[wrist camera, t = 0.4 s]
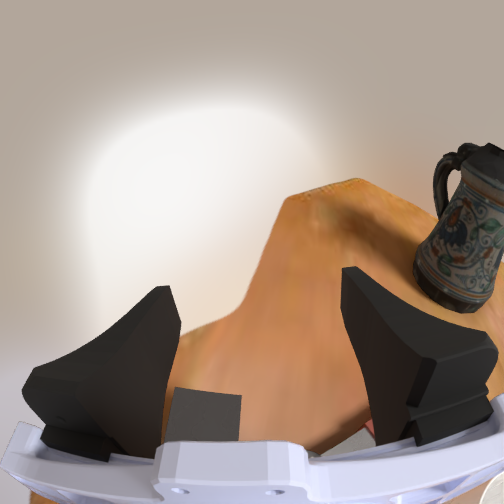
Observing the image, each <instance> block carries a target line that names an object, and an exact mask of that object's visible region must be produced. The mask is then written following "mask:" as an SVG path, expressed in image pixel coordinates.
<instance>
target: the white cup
mask: <svg viewBox="0 0 504 504" xmlns="http://www.w3.org/2000/svg"><path fill="white" fill-rule="evenodd" d="M442 504H504V472H502V473H500V474H499V475H497V476H495V477H493V478H492V479H490V480H488V481H486V482H484V483H482V484H480V485H479V486H477V487H475V488H473V489H471V490H469V491H467V492H465V493H463V494H461V495H459V496H457V497H455V498H452V499H450V500H448V501H446V502H444V503H442Z"/></svg>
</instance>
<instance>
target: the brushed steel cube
mask: <svg viewBox="0 0 504 504" xmlns="http://www.w3.org/2000/svg"><path fill="white" fill-rule="evenodd" d="M241 398H242V395H233V394H223V393H215V392H206V391H199V390H192V389H185V388H178V387H175V390H174V395H173V400H172V404H171V409H170V414H169V419H168V424H167V429H166V434H165V440H164V443H166V442H172V441H208V442H229V441H238V438H239V425H240V411H241Z"/></svg>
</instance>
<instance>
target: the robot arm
mask: <svg viewBox="0 0 504 504" xmlns="http://www.w3.org/2000/svg"><path fill="white" fill-rule="evenodd" d="M340 308H341V312H342V316H343V320H344V324H345V328H346V331H347V333H348V336H349V338H350V341H351V344H352V346H353V349H354V351H355V354H356V357H357V359H358V362H359V365H360V367H361V371H362V374H363V377H364V382H365V386H366V390H367V395H368V400H369V405H370V410H371V416H372V422H373V428H374V435H375V444H376V447H372V448H368V449H363V450H358V451H353V452H347V453H342V454H336V455H329V456H323V457H315V458H308V453H307V452H306V450H305V449H304V448H303V446H301V445H299V444H296V443H292V442H289V441H283V440H259V441H229V442H208V441H172V442H166V443H164V444H162V445H161V429H162V418H163V408H164V400H165V393H166V388H167V383H168V379H169V376H170V372H171V369H172V365H173V361H174V358H175V354H176V351H177V347H178V343H179V337H180V330H181V320H180V317H179V314H178V311H177V308H176V305H175V302H174V298H173V295H172V292H171V289H170V286H157V287H155V288H154V289H153V290H151V291H150V292H149V293H148V294H147V295H146V296H145V297H144V298H143V299H142V300H141V301H140V302H138V303H137V304H136V305H135V306H134V307H133V308H132V309H131V310H130V311H129V312H128V313H127V314H126V315H124V316H123V317H122V318H121V319H120V320H118V321H117V322H116V323H115V324H114V325H113V326H111V327H110V328H109V329H108V330H106V331H105V332H103V333H102V334H101V335H99V336H98V337H97V338H95V339H93V340H92V341H90V342H89V343H87V344H85V345H84V346H82V347H80V348H79V349H77V350H75V351H73V352H71V353H69V354H67V355H65V356H63V357H61V358H59V359H56V360H55V361H52V362H49V363H46V364H43V365H41V366H38V367H35V368H34V369H33V370H32V372H31V374H30V376H29V377H28V379H27V381H26V383H25V385H24V386H23V388H22V395H23V397H24V399H25V401H26V402H27V404H28V405H29V407H30V408H31V409H32V410H33V411H34V412H35V413H36V414H37V415H38V417H40V419H41V420H42V421H43V422H44V423H45V424H46V426H45V428H44V430H42V429H41V428H39V427H37V426H34V425H31V424H28V423H24V422H19V423H18V425H17V427H16V429H15V431H14V433H13V435H12V437H11V440H10V442H9V444H8V446H7V449H6V451H5V453H4V456H3V458H2V460H1V463H0V467H1V468H2V469H3V470H4V471H6V472H7V473H8V474H10V475H11V476H12V477H14V478H15V479H16V480H18V481H19V482H20V483H22V484H23V485H25V486H26V487H28V488H29V489H30V490H32V491H33V492H35V493H36V494H39V495H41V496H43V497H45V498H48V499H50V500H52V501H55V502H57V503H59V504H442V503H444V502H446V501H448V500H450V499H452V498H455V497H457V496H459V495H461V494H463V493H465V492H467V491H469V490H471V489H473V488H475V487H477V486H479V485H480V484H482V483H484V482H486V481H488V480H490V479H492V478H493V477H495V476H497V475H499V474H500V473H502V472H504V393H502V394H500V395H498V396H496V397H494V398H493V399H492V400H491V401H490V402H489V400H488V398H487V397H486V395H487V394H488V393H489V390H488V388H487V386H486V384H485V383H486V382H487V380H488V378H489V376H490V375H491V373H492V371H493V369H494V367H495V365H496V363H497V360H498V354H499V352H498V349H497V347H496V346H495V344H494V343H493V341H492V340H491V339H490V337H489V336H488V334H487V333H486V332H484V331H480V330H475V329H471V328H466V327H462V326H459V325H456V324H453V323H449V322H447V321H444V320H441V319H439V318H436V317H434V316H432V315H429V314H427V313H425V312H423V311H421V310H419V309H417V308H415V307H413V306H412V305H410V304H408V303H406V302H405V301H403V300H401V299H400V298H398V297H397V296H395V295H394V294H392V293H391V292H389V291H388V290H387V289H385V288H384V287H383V286H381V285H380V284H379V283H377V282H376V281H375V280H373V279H372V278H371V277H369V276H368V275H367V274H366V273H364V272H363V271H362V270H361V269H359V268H358V267H356V266H354V267H345V268H342V283H341V307H340Z"/></svg>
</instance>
